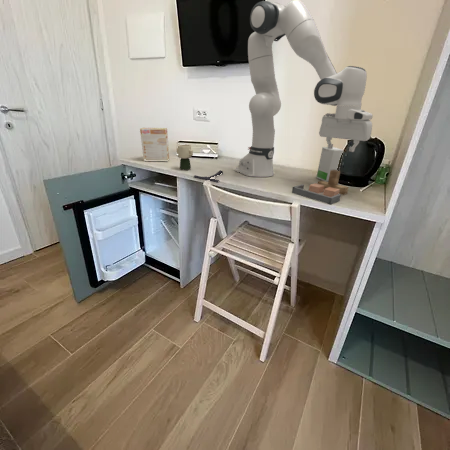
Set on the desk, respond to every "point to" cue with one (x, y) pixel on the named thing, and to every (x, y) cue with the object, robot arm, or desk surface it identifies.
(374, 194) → the desk surface
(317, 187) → the tile left
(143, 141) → the coffeecake box
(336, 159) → the skincare box
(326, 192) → the tile right
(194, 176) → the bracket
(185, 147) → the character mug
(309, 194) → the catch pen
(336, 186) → the wooden toy blocks
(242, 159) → the robot arm
